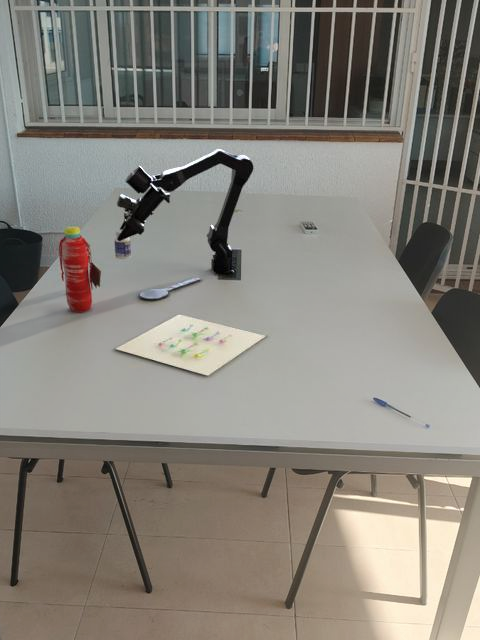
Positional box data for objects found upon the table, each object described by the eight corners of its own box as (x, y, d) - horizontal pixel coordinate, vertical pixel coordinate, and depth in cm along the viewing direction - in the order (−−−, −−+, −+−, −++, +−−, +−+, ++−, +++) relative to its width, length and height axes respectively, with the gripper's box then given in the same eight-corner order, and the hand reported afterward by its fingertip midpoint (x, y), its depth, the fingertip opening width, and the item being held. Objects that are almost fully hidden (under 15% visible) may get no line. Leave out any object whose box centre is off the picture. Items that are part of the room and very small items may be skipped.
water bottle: (105, 304, 220) (99, 223, 207) (104, 313, 213) (96, 230, 200) (66, 304, 219) (57, 224, 206) (63, 314, 212) (54, 231, 199)
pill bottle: (128, 259, 238) (126, 233, 233) (113, 258, 239) (111, 232, 234) (133, 255, 242) (131, 229, 238) (118, 254, 243) (116, 228, 239)
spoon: (190, 277, 243) (190, 275, 242) (207, 282, 238) (207, 280, 238) (134, 296, 226) (134, 294, 225) (152, 302, 221) (151, 300, 221)
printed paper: (207, 376, 176) (207, 371, 176) (115, 349, 190) (114, 345, 189) (265, 337, 198) (266, 332, 198) (179, 315, 212) (178, 310, 211)
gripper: (129, 180, 237) (99, 214, 241) (131, 192, 221) (99, 229, 225) (153, 203, 242) (124, 236, 246) (157, 216, 226) (125, 252, 230)
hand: (117, 237), depth 237 cm, fingers closed on pill bottle, 5 cm apart
